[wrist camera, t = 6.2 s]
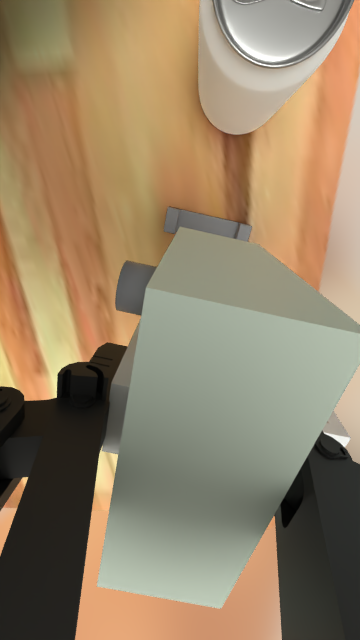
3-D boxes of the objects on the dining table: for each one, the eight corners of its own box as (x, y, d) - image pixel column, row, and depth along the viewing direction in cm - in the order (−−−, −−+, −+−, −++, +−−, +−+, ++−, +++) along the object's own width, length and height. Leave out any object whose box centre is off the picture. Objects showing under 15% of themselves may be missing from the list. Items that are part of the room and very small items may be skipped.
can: (207, 21, 20) (221, -191, 9) (295, 39, 20) (415, -148, 9) (190, 127, 23) (185, 64, 12) (268, 143, 23) (336, 95, 12)
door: (156, 221, 14) (74, 272, 5) (258, 244, 14) (375, 336, 5) (129, 383, 18) (58, 579, 9) (208, 399, 18) (220, 608, 9)
